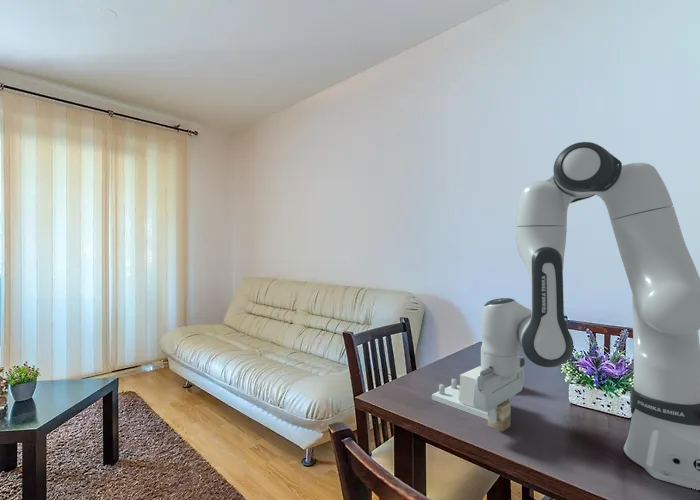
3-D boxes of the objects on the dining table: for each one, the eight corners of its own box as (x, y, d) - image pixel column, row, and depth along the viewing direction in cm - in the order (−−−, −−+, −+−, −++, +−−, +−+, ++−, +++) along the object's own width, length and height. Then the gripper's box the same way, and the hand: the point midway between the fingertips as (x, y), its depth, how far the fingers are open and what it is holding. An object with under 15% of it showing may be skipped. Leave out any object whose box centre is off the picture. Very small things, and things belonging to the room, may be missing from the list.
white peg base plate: (510, 406, 106) (510, 392, 106) (489, 420, 98) (489, 405, 98) (454, 388, 119) (454, 376, 119) (431, 399, 111) (431, 385, 111)
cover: (506, 399, 106) (506, 372, 106) (487, 411, 99) (487, 382, 98) (479, 391, 112) (479, 366, 112) (459, 402, 104) (459, 374, 104)
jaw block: (510, 426, 95) (510, 402, 94) (503, 431, 92) (503, 407, 92) (495, 420, 98) (495, 397, 97) (487, 425, 95) (487, 402, 95)
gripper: (491, 376, 85) (491, 436, 85) (528, 357, 99) (528, 409, 99) (466, 369, 90) (466, 426, 90) (505, 352, 104) (505, 402, 104)
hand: (499, 417), depth 95 cm, fingers closed on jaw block, 4 cm apart
